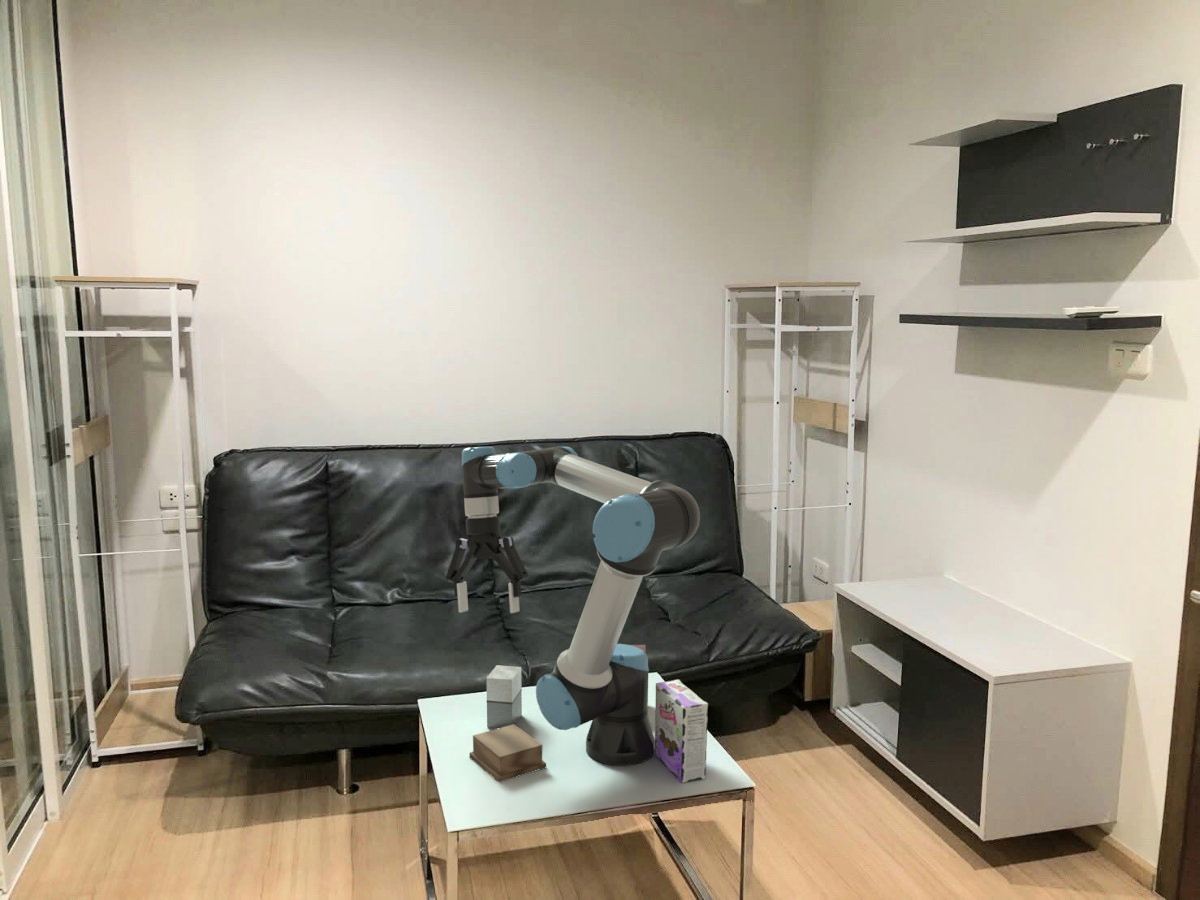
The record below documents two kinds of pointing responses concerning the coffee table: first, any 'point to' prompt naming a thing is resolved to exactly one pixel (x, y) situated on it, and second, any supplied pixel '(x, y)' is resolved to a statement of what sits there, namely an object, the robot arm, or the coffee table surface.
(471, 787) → the coffee table surface
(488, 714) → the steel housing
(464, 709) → the coffee table surface
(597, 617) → the robot arm
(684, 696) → the candy box
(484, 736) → the walnut stand
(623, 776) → the coffee table surface
